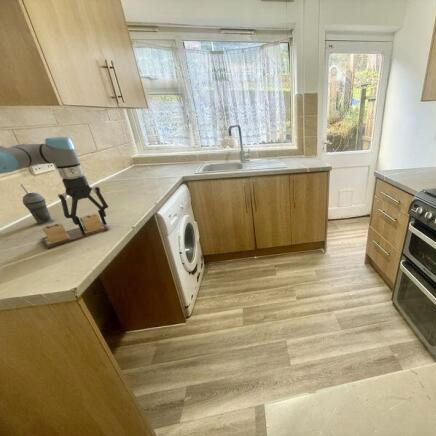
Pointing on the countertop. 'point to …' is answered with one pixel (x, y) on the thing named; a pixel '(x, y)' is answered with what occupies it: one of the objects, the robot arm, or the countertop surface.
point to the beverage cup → (36, 207)
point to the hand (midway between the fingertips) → (93, 227)
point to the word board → (73, 236)
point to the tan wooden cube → (91, 222)
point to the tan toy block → (55, 232)
